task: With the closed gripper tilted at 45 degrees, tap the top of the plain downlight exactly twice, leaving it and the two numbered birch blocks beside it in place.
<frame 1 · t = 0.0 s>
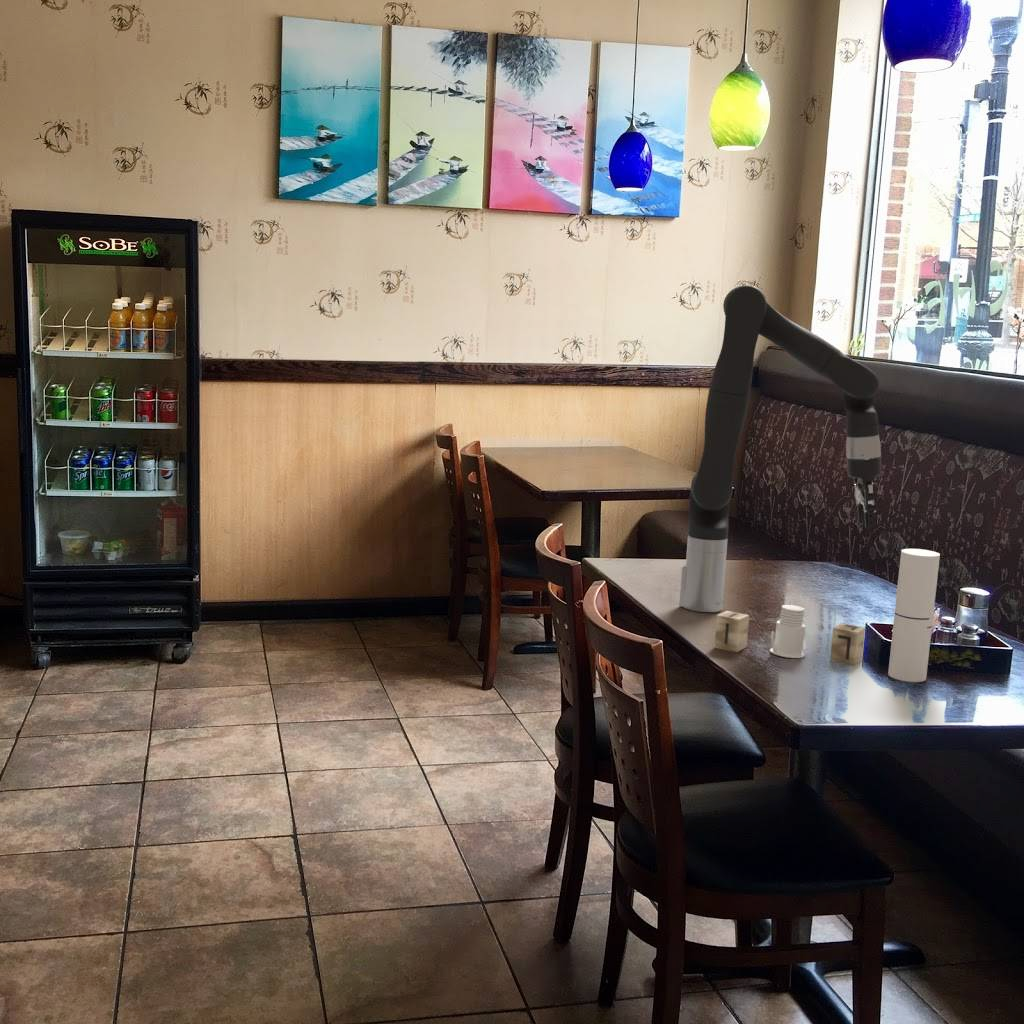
hand: (866, 525, 273), 22 cm above the table, tool pointing down, fingers open, 8 cm apart
birch block one: (730, 647, 249), on the table
birch block seven: (846, 660, 243), on the table
cylindrical container: (906, 677, 234), on the table
downlight: (787, 654, 246), on the table
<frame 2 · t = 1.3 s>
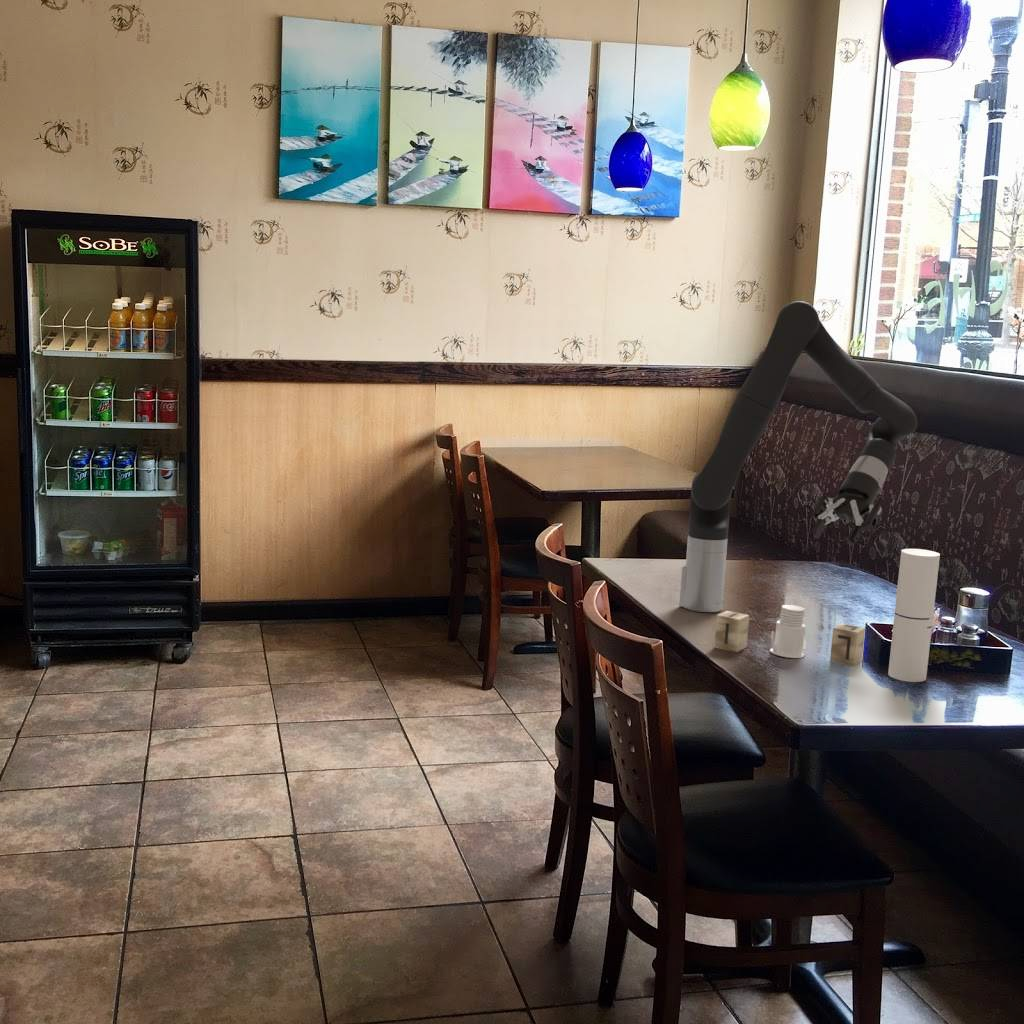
hand: (832, 539, 252), 23 cm above the table, tool tilted 45°, fingers open, 7 cm apart
nothing on the table moved.
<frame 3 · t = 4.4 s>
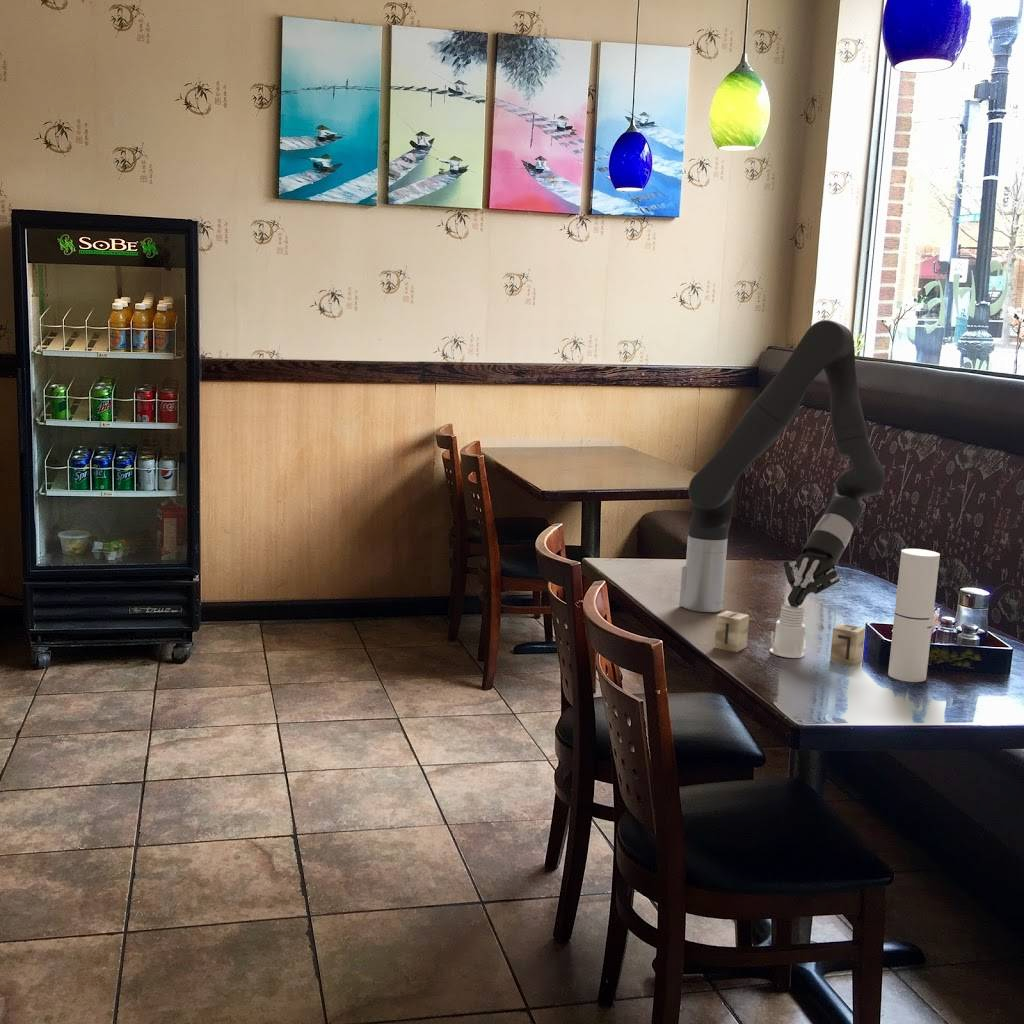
hand: (792, 604, 244), 11 cm above the table, tool tilted 45°, fingers closed
downlight: (787, 654, 246), on the table, touching gripper
everything else where it was.
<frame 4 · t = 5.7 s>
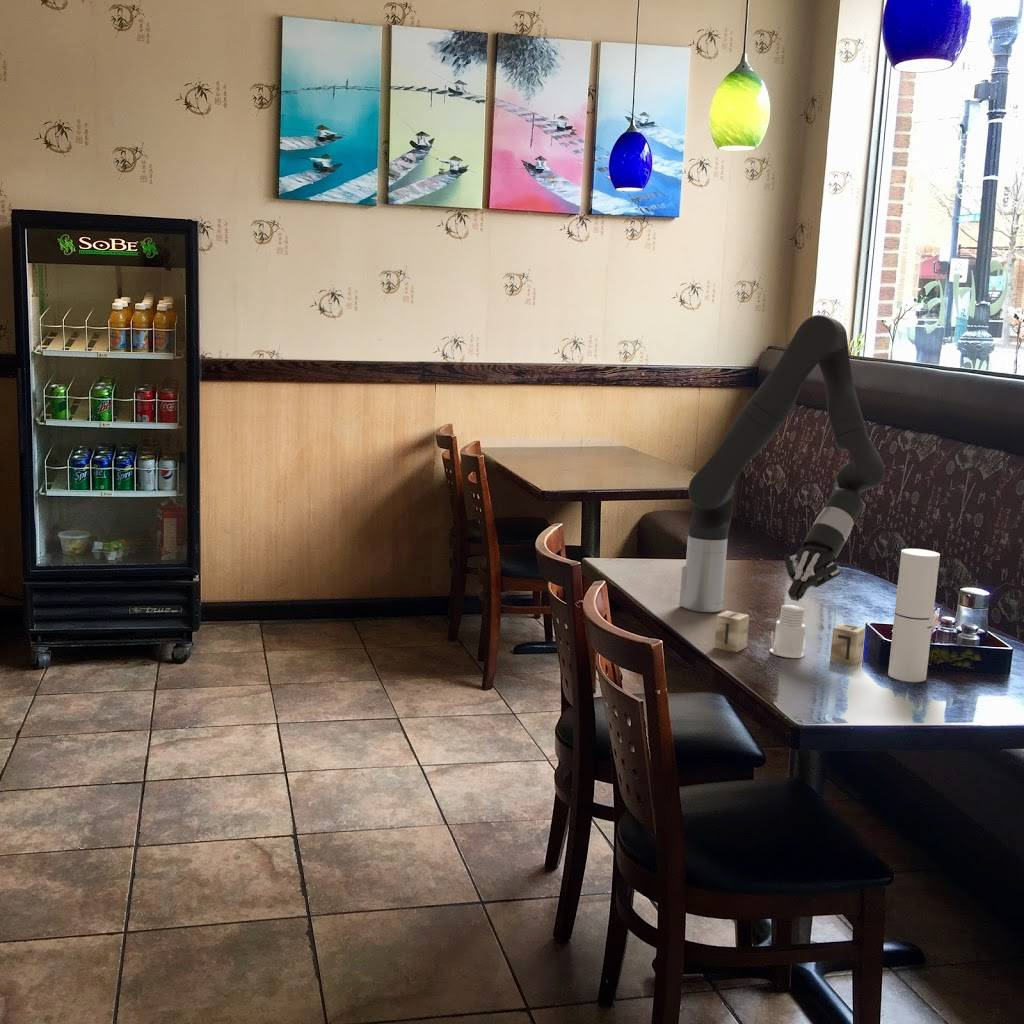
hand: (793, 598, 244), 12 cm above the table, tool tilted 45°, fingers closed
downlight: (787, 654, 246), on the table
everything else where it was.
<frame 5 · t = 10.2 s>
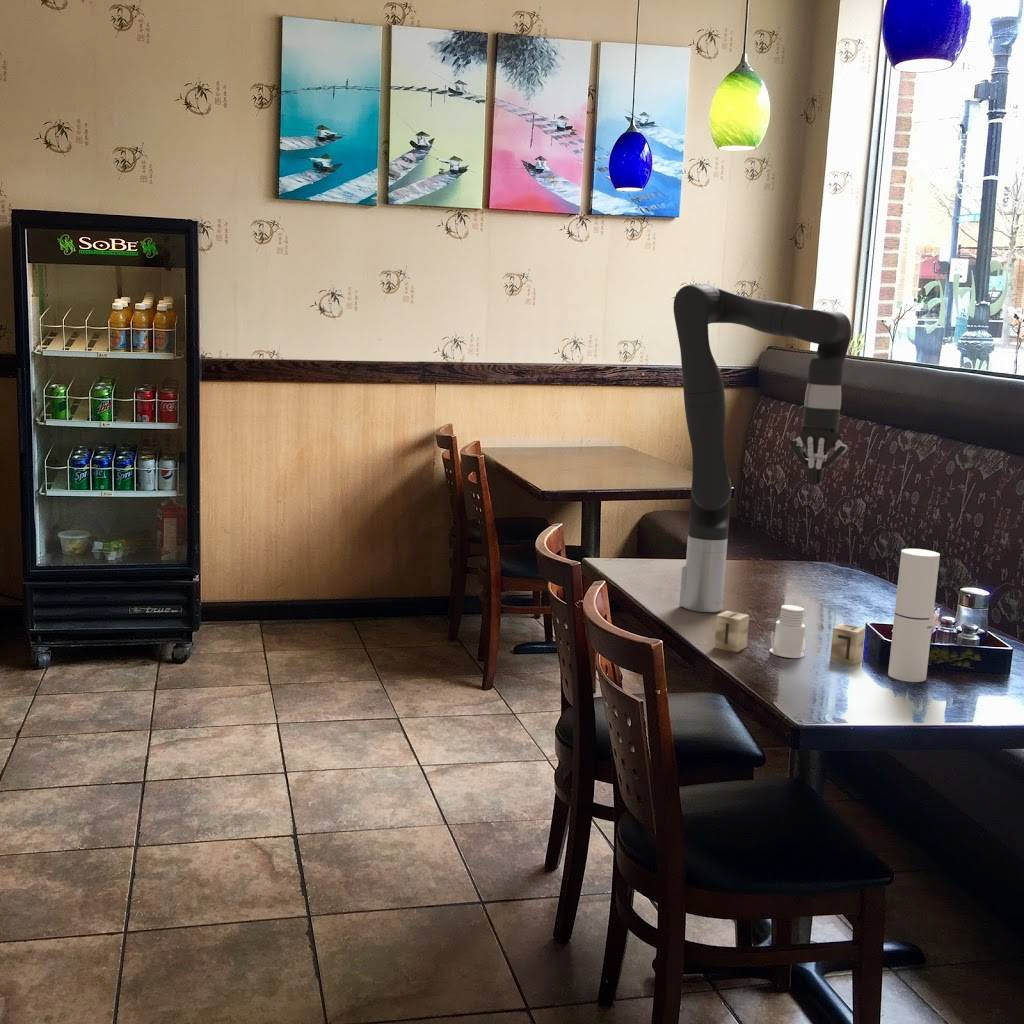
hand: (814, 485, 257), 33 cm above the table, tool pointing down, fingers closed
nothing on the table moved.
at the end: downlight moved 0.3 cm from its start; downlight tilted 0°; birch block seven moved 0.1 cm from its start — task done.
